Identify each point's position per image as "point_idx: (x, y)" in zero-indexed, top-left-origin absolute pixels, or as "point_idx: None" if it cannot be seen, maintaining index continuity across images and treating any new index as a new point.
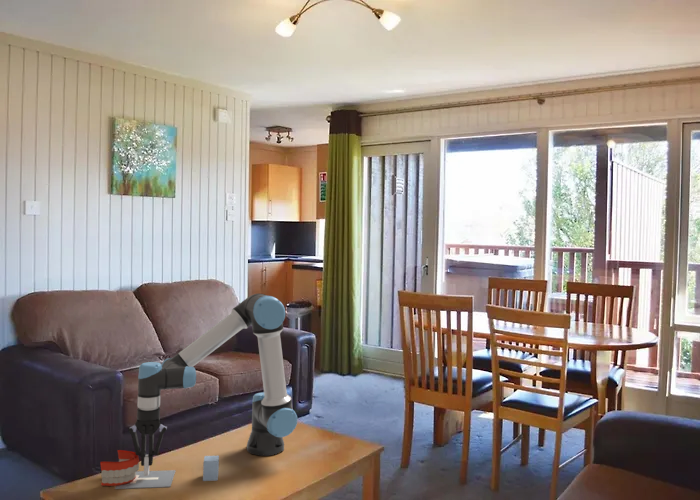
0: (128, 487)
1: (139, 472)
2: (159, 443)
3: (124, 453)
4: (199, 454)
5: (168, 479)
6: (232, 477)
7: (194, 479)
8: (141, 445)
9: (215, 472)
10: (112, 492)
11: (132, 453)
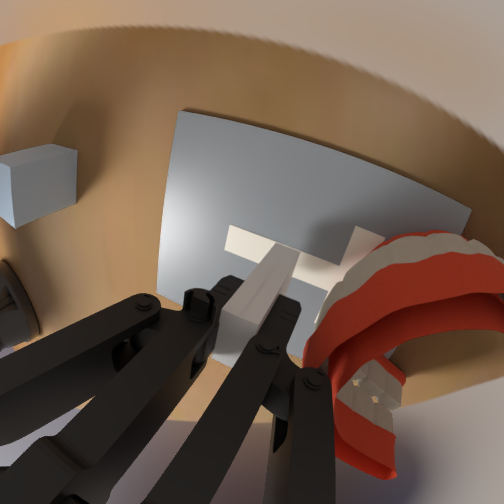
0: (405, 180)
1: None
2: (51, 343)
3: (372, 451)
4: None
5: (181, 202)
6: None
7: (97, 173)
8: (240, 441)
9: (30, 149)
10: (487, 167)
11: None
